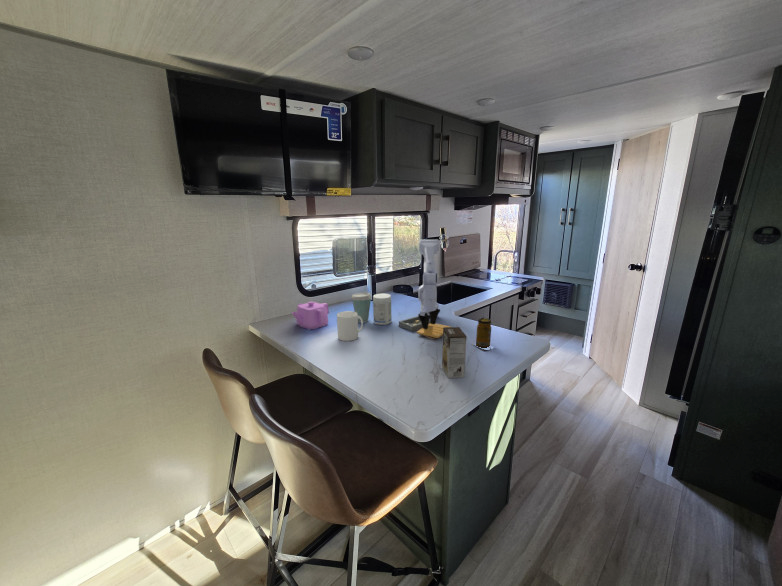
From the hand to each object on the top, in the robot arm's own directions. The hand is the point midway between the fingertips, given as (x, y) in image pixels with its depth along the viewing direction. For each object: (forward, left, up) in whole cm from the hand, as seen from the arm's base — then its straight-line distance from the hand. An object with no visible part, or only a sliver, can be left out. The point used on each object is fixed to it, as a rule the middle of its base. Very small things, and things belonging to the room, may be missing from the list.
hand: (429, 326), depth 154 cm
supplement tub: (+5, -30, -5) cm, 31 cm away
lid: (-5, -2, -5) cm, 7 cm away
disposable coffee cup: (+12, -39, -5) cm, 41 cm away
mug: (+29, -23, -6) cm, 37 cm away
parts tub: (-5, -15, -5) cm, 17 cm away
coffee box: (+17, +30, -5) cm, 35 cm away
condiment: (-11, +23, -6) cm, 26 cm away
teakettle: (+36, -51, -6) cm, 63 cm away
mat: (-6, -1, -5) cm, 8 cm away
